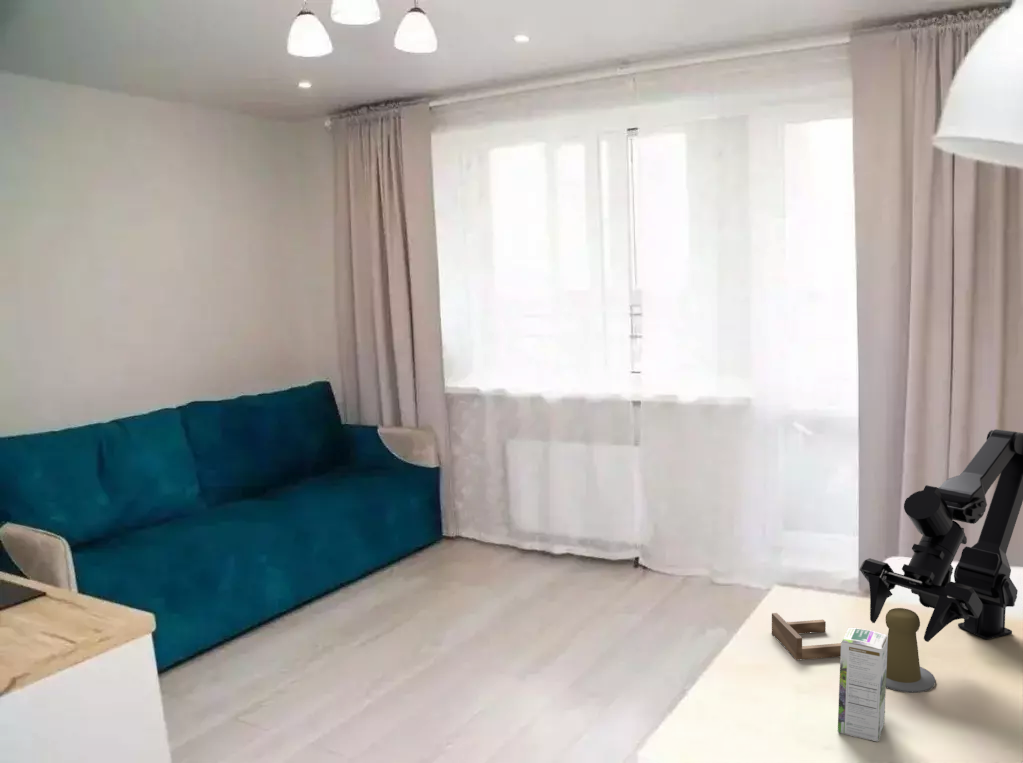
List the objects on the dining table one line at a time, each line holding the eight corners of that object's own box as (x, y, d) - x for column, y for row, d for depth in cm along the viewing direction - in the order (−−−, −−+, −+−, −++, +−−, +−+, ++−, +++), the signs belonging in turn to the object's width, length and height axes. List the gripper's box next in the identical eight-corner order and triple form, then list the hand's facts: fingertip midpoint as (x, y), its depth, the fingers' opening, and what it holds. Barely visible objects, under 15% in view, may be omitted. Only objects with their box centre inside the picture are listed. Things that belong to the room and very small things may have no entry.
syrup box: (844, 715, 132) (846, 625, 130) (886, 724, 129) (888, 632, 127) (837, 733, 127) (838, 640, 125) (880, 743, 124) (882, 648, 122)
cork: (899, 662, 147) (901, 601, 146) (929, 677, 142) (931, 613, 140) (873, 670, 145) (874, 608, 143) (902, 686, 139) (904, 621, 138)
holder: (823, 629, 162) (823, 609, 162) (851, 655, 152) (851, 634, 151) (771, 633, 161) (771, 613, 161) (796, 660, 151) (796, 638, 150)
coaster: (902, 659, 150) (902, 656, 149) (949, 685, 140) (949, 682, 140) (855, 670, 146) (855, 667, 146) (900, 697, 137) (900, 694, 137)
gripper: (1008, 590, 143) (971, 674, 138) (900, 560, 158) (864, 635, 153) (987, 556, 137) (948, 641, 132) (877, 528, 152) (839, 604, 147)
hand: (898, 630), depth 141 cm, fingers open, 9 cm apart
